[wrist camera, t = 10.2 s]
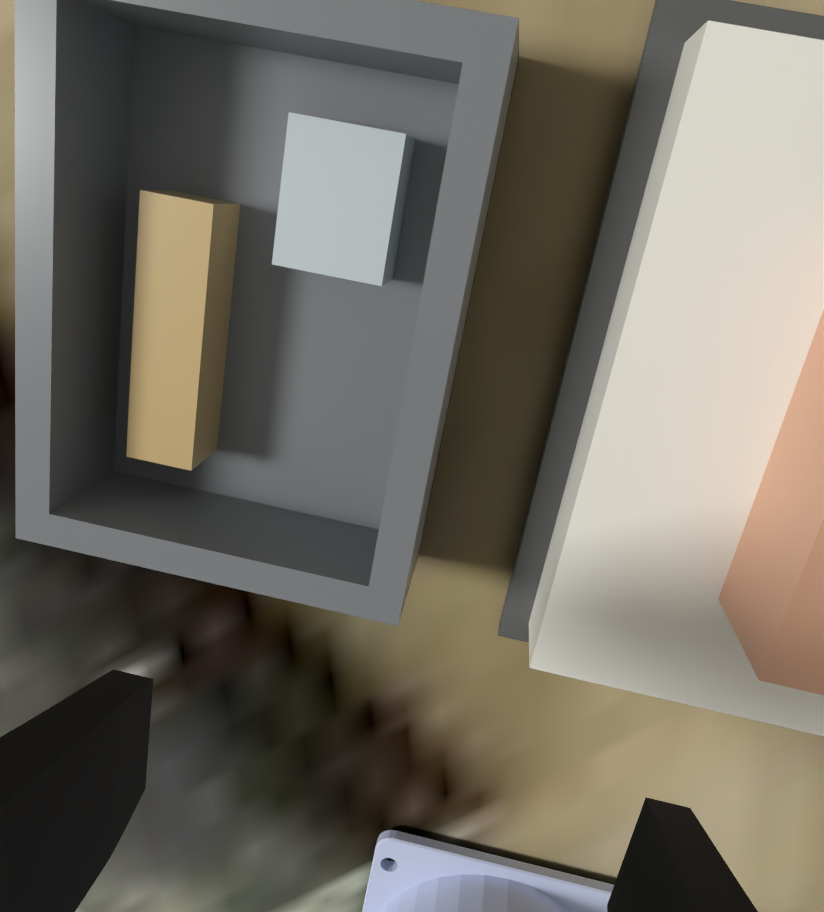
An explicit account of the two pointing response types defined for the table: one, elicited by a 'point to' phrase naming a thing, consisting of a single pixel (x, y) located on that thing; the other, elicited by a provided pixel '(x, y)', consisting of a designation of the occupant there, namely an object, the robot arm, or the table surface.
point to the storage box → (247, 280)
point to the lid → (709, 409)
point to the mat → (617, 266)
